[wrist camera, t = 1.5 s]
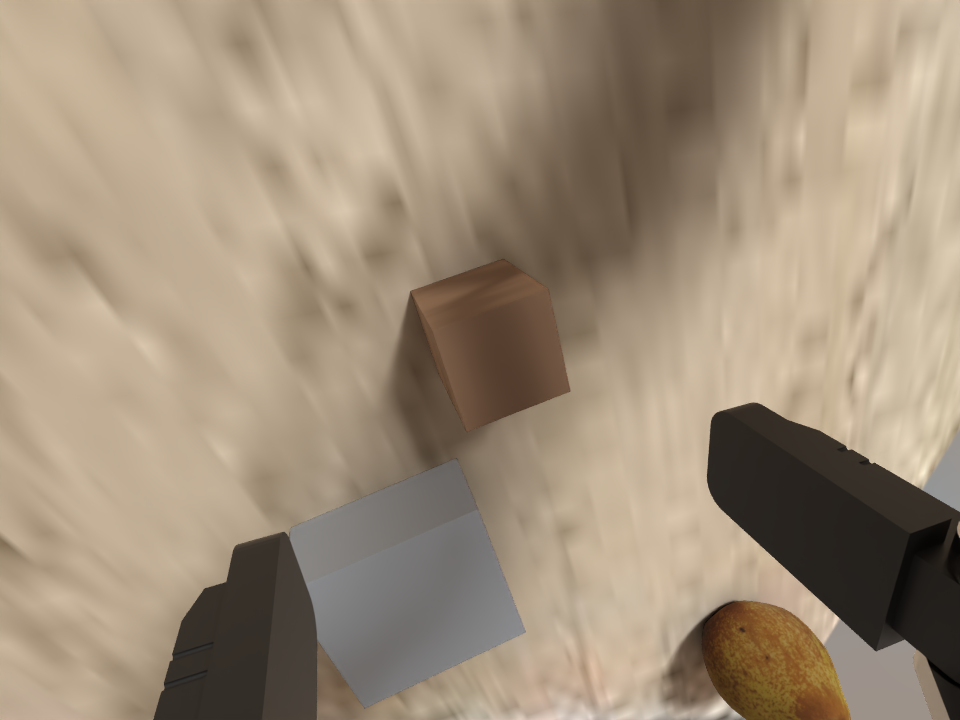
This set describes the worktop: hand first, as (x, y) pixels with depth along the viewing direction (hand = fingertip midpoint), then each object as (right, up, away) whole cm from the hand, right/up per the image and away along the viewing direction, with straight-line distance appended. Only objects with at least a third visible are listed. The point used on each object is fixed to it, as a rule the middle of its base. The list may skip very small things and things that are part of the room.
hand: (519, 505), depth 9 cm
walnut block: (-1, +5, +18) cm, 18 cm away
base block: (-5, -9, +23) cm, 25 cm away
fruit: (+21, -20, +35) cm, 45 cm away
